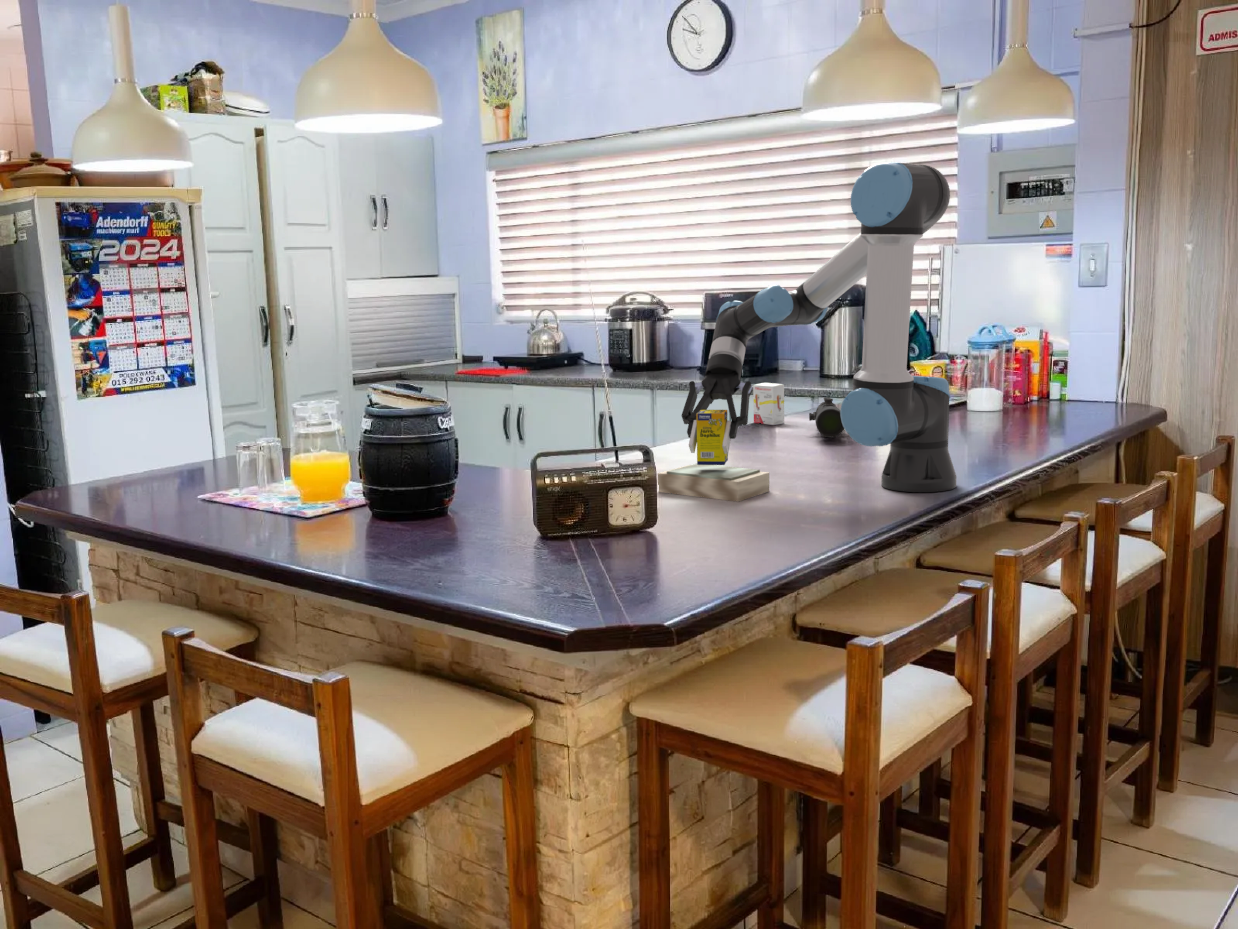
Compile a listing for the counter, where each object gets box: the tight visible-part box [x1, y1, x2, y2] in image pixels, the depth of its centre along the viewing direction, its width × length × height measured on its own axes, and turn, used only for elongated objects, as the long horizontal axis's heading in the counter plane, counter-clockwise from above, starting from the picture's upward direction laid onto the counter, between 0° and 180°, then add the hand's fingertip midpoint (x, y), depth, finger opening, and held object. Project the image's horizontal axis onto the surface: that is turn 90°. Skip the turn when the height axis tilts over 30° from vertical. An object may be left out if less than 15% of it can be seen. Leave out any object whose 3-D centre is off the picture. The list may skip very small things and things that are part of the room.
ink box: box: [752, 382, 785, 426], centre depth 334 cm, size 9×5×12 cm, turn 39°
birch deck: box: [657, 463, 770, 502], centre depth 234 cm, size 20×12×4 cm, turn 51°
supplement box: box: [696, 409, 729, 466], centre depth 233 cm, size 6×6×11 cm
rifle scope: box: [808, 396, 845, 439], centre depth 307 cm, size 10×26×10 cm, turn 172°
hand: (708, 449), depth 230 cm, fingers closed on supplement box, 6 cm apart
